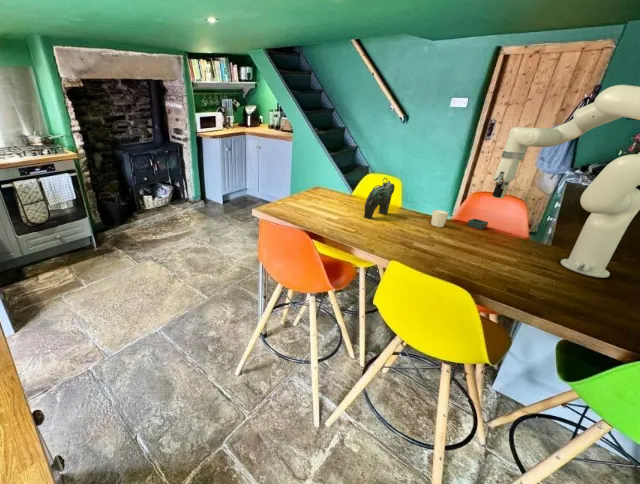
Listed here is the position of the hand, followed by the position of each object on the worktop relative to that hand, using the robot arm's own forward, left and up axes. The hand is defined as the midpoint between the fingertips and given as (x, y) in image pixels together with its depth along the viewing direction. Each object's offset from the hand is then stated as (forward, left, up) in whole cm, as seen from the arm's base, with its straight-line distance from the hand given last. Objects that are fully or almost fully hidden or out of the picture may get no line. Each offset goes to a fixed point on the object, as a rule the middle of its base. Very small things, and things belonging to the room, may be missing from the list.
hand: (498, 195), depth 139 cm
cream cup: (-15, +16, -18) cm, 28 cm away
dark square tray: (+2, +5, -18) cm, 18 cm away
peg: (0, 0, -1) cm, 1 cm away
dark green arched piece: (-32, +39, -18) cm, 53 cm away
